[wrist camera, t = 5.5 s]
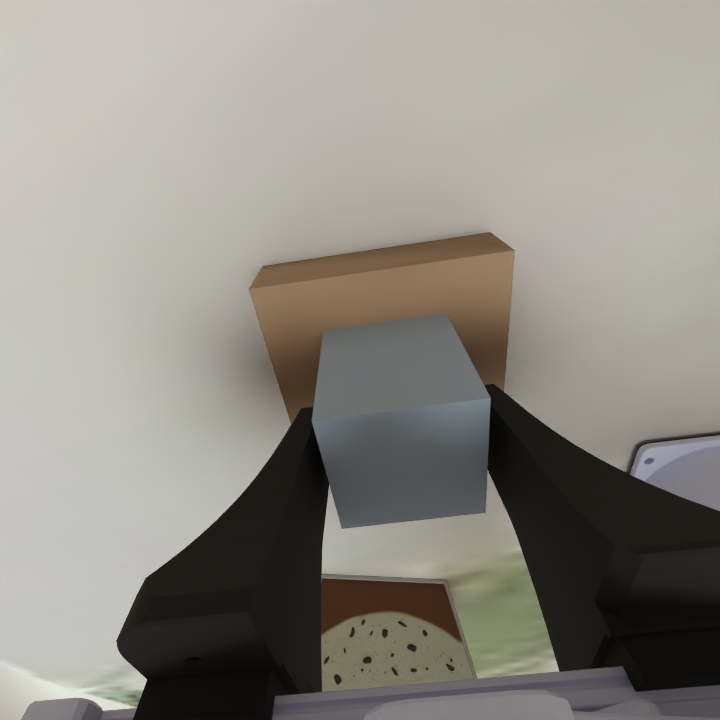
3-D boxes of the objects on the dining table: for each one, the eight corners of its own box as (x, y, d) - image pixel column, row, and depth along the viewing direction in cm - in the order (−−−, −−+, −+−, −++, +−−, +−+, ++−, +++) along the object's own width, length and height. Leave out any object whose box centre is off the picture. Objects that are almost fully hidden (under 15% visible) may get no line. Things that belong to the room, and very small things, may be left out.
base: (483, 411, 19) (499, 446, 17) (310, 432, 20) (305, 469, 18) (490, 232, 14) (514, 250, 12) (263, 266, 15) (248, 289, 13)
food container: (295, 615, 30) (273, 809, 21) (298, 572, 27) (274, 781, 18) (445, 620, 31) (482, 807, 22) (466, 580, 28) (517, 780, 19)
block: (448, 409, 16) (485, 512, 12) (344, 423, 16) (342, 528, 12) (446, 313, 13) (490, 398, 9) (323, 330, 14) (311, 421, 9)
